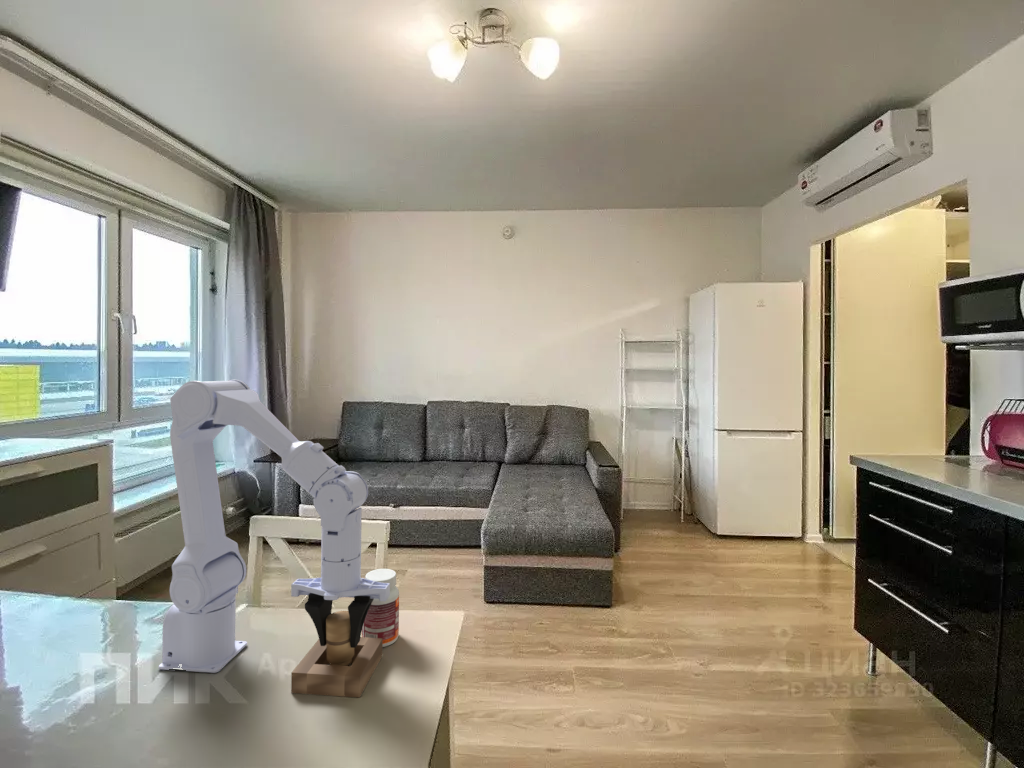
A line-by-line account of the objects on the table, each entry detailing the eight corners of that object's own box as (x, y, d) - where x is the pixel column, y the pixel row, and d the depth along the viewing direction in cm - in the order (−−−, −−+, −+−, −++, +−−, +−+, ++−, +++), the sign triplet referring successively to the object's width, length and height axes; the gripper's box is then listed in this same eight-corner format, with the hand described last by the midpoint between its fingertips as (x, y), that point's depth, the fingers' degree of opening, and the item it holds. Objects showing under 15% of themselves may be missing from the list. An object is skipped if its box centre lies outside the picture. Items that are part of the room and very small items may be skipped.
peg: (321, 669, 74) (320, 623, 74) (333, 654, 78) (332, 610, 78) (348, 671, 73) (347, 624, 73) (358, 655, 77) (358, 611, 77)
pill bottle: (403, 642, 85) (405, 577, 84) (367, 653, 81) (368, 585, 81) (391, 626, 90) (392, 564, 89) (356, 635, 86) (357, 571, 86)
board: (291, 693, 71) (291, 672, 71) (322, 652, 81) (322, 634, 81) (359, 697, 70) (360, 676, 70) (382, 656, 80) (382, 638, 80)
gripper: (280, 563, 71) (280, 655, 72) (379, 567, 71) (378, 661, 71) (304, 545, 79) (303, 629, 79) (394, 549, 78) (393, 634, 78)
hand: (340, 643), depth 76 cm, fingers closed on peg, 4 cm apart
